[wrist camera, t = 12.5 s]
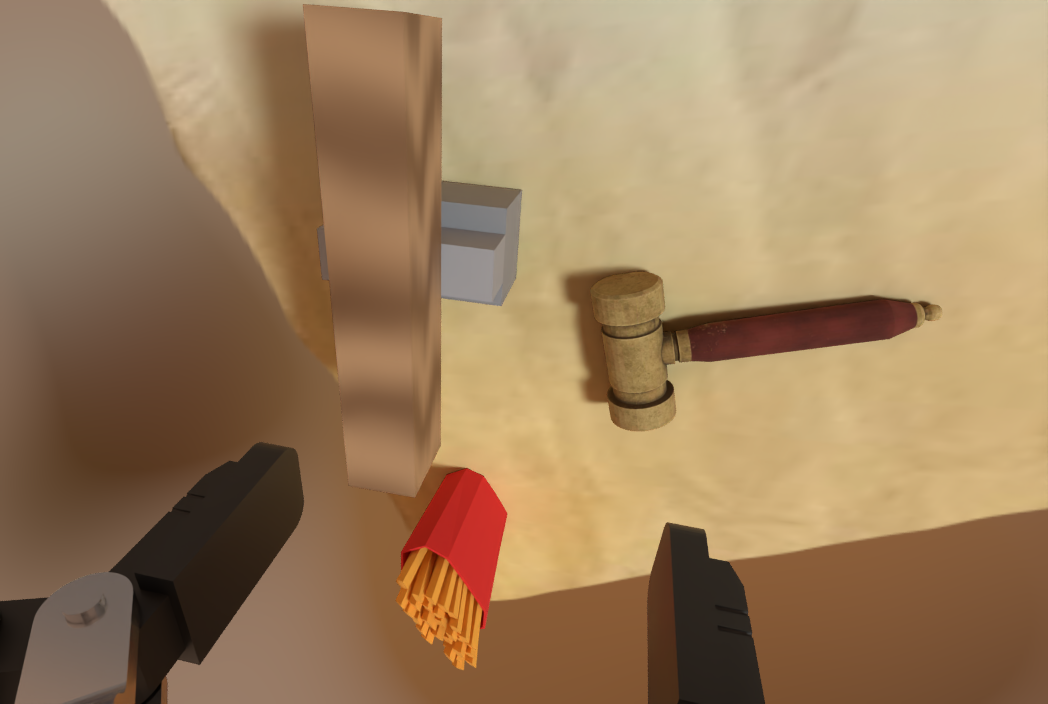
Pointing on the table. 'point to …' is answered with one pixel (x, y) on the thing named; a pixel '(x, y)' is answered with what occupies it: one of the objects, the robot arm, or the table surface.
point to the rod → (382, 232)
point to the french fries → (453, 564)
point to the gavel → (716, 340)
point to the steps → (472, 242)
